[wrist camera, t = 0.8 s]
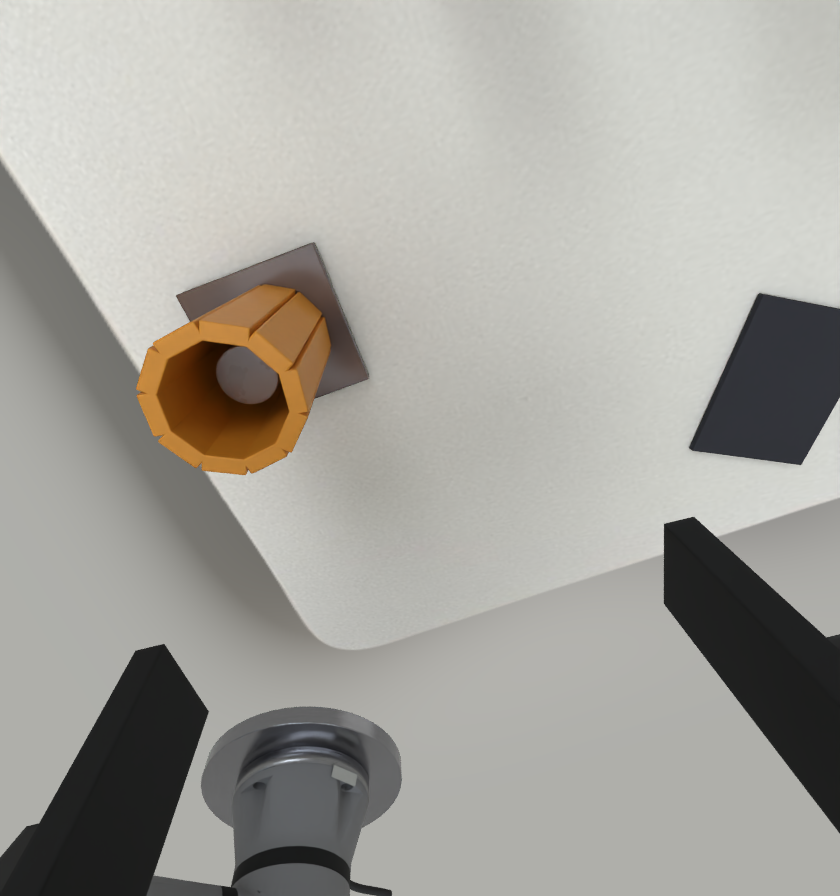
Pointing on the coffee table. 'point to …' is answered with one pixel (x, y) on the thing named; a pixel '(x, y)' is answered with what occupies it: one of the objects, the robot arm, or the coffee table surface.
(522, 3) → the coffee table surface
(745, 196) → the coffee table surface
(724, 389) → the mat
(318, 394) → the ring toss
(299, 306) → the orange grooved hollow cylinder
